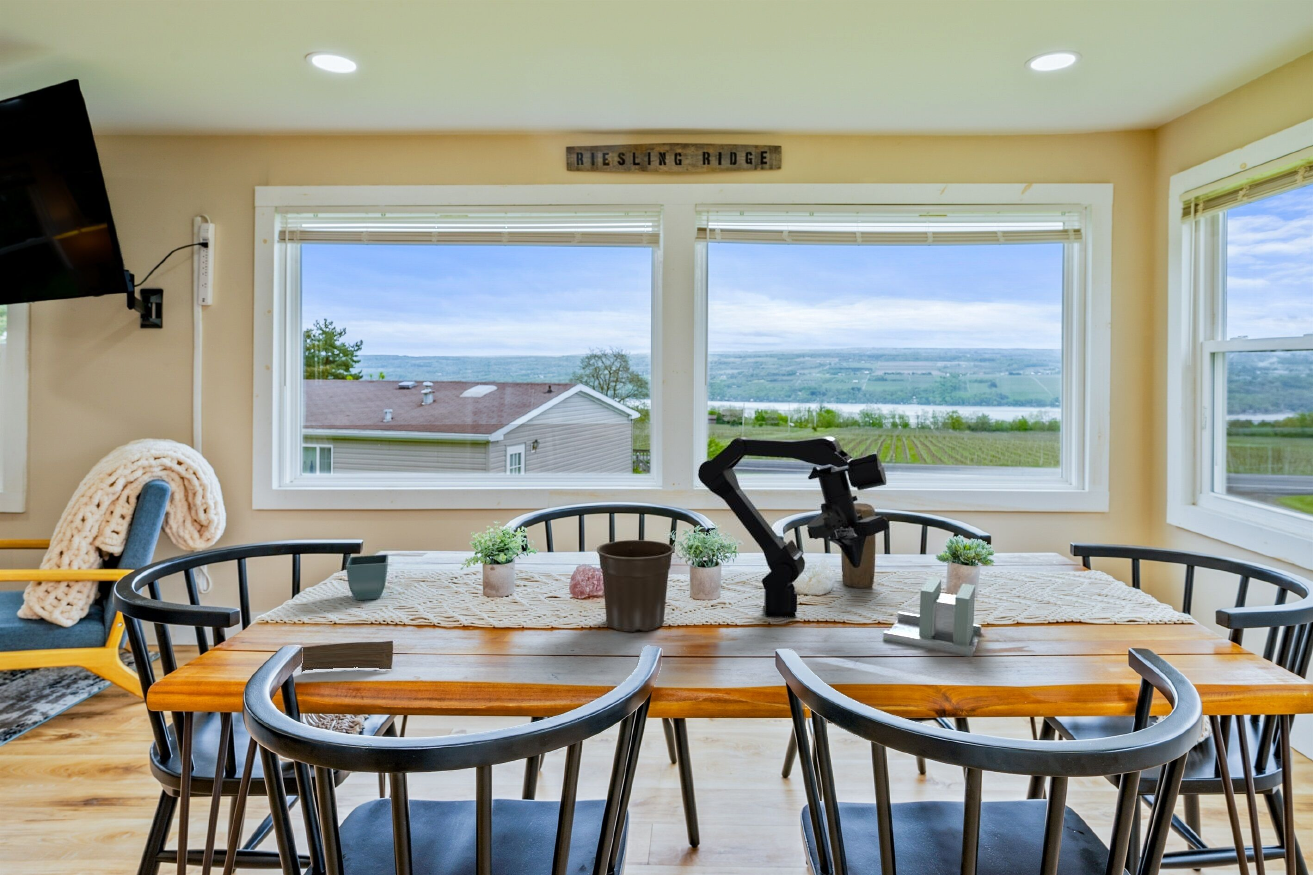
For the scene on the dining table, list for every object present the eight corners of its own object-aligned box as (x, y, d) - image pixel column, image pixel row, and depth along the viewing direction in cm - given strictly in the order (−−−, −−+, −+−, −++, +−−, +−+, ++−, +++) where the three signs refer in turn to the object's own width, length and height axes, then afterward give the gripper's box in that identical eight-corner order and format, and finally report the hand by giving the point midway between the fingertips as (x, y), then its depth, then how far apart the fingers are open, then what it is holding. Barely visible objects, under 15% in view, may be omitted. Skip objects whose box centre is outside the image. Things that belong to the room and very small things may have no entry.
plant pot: (620, 605, 162) (620, 535, 160) (685, 616, 155) (686, 543, 153) (582, 628, 147) (582, 552, 146) (652, 641, 140) (652, 561, 139)
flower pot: (389, 589, 173) (388, 553, 172) (388, 600, 165) (387, 562, 164) (350, 593, 170) (349, 556, 170) (347, 604, 162) (345, 565, 161)
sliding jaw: (918, 641, 137) (920, 590, 136) (928, 625, 146) (929, 577, 145) (932, 643, 136) (934, 592, 135) (941, 627, 145) (942, 579, 144)
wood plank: (298, 677, 123) (297, 649, 123) (302, 672, 125) (301, 644, 125) (391, 671, 126) (390, 644, 125) (394, 667, 128) (393, 639, 128)
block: (875, 590, 174) (878, 509, 172) (844, 589, 175) (846, 508, 173) (868, 577, 184) (870, 501, 183) (838, 576, 185) (840, 500, 184)
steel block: (934, 641, 138) (935, 601, 137) (939, 631, 143) (940, 593, 142) (953, 645, 136) (955, 604, 135) (958, 635, 141) (959, 595, 140)
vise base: (882, 645, 138) (882, 632, 138) (898, 622, 151) (899, 610, 151) (971, 662, 130) (972, 649, 130) (981, 636, 143) (981, 624, 143)
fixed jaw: (952, 648, 134) (954, 596, 133) (959, 632, 143) (961, 583, 142) (966, 651, 133) (968, 599, 132) (973, 634, 142) (975, 585, 141)
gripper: (780, 507, 154) (799, 578, 153) (840, 501, 138) (861, 580, 137) (818, 494, 159) (837, 562, 159) (880, 487, 143) (901, 563, 143)
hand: (856, 567), depth 149 cm, fingers closed
